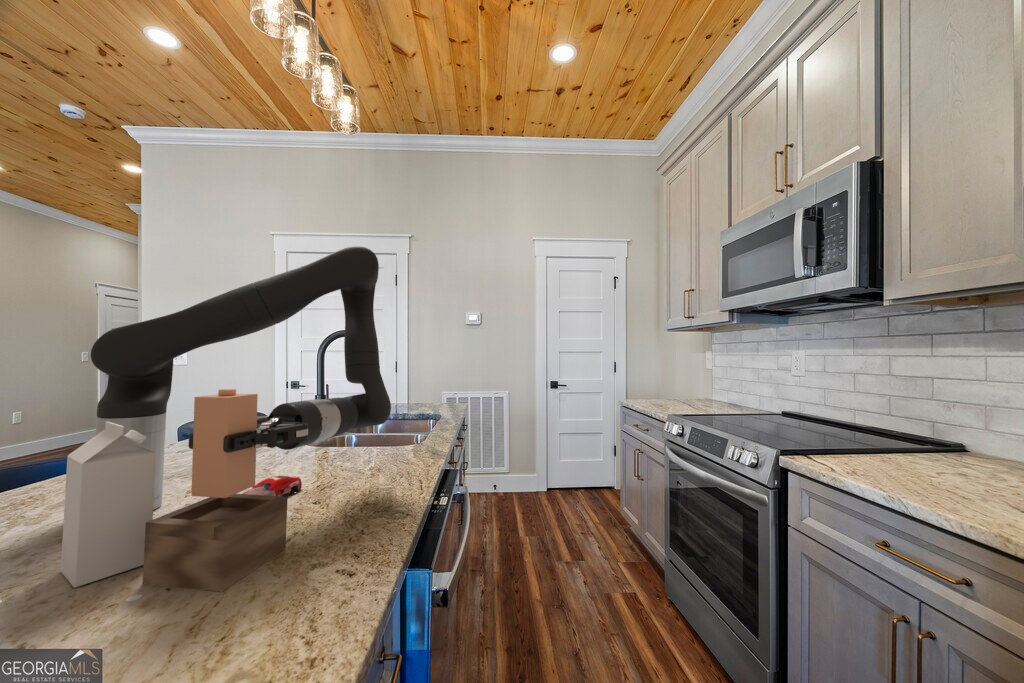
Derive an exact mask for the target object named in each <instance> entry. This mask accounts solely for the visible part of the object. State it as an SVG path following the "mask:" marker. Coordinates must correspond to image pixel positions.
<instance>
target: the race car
mask: <svg viewBox="0 0 1024 683" xmlns="http://www.w3.org/2000/svg"><path fill="white" fill-rule="evenodd" d="M302 486H303V484H302V480H301V478H300V477H299V476H292V475H275V476H274V475H273V476H271V477H268V478H265V479H263V480H261V481H259V482H258V483H257V484H255V486H253V487H251V489H250V488H249V489H247V491H246V490H245V492H243V493H242V494H249V495H265V496H281V497H289V496H291V495H290V494H292V493H294V492H297V493H298V492H299V491H300V490H301V489H302ZM288 495H289V496H288Z"/></svg>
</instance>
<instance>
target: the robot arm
mask: <svg viewBox="0 0 1024 683" xmlns="http://www.w3.org/2000/svg"><path fill="white" fill-rule="evenodd" d="M379 267H380V266H379V259H378V257H377V255H376V254H375V252H374V251H372V250H371V249H369V248H367V247H365V246H361V245H352V246H350V245H349V246H346V247H344V248H340V249H339V250H337V251H334V252H332V253H329V254H328V255H326V256H324V257H322V258H319V259H317V260H315V261H313V262H310V263H308V264H305V265H304V266H300V267H297V268H294V269H291V270H288V271H284V272H281V273H278V274H276V275H273V276H270V277H267V278H265V279H262V280H261V279H260V280H257V281H254V282H251V283H248V284H246V285H243V286H240V287H238V288H237V287H236V288H233V289H231V290H229V291H227V292H224V293H222V294H218V295H216V296H214V297H212V298H211V297H210V298H209V299H208V298H207V299H206V300H203V301H201V302H199V303H196V304H194V305H192V306H189V307H187V308H184V309H182V310H178V311H176V312H174V313H170V314H166V315H162V316H159V317H155V318H151V319H149V320H143V321H140V322H135V323H131V324H127V325H123V326H120V327H119V326H117V327H115V328H113V329H110V330H108V331H106V332H105V333H103V334H102V335H101V336H99V338H97V339H96V341H94V343H93V345H92V347H91V350H90V359H91V363H92V364H93V365H94V367H95V368H96V369H97V370H99V371H100V372H102V373H104V374H106V375H108V377H107V384H106V385H107V387H106V390H105V392H104V394H103V396H102V397H101V398H100V400H99V401H98V403H97V407H96V422H95V424H96V425H95V436H96V435H98V434H99V433H100V432H102V431H103V430H105V422H107V421H108V422H111V423H114V424H118V425H121V426H124V432H123V435H126V434H127V433H128V432H129V431H130V430H134V431H136V432H138V433H140V434H142V435H144V436H145V437H146V439H145V440H144V441H143V442H142V443H141V445H143V446H145V447H147V448H149V449H150V450H152V451H154V452H155V453H156V464H155V484H154V504H153V511H154V510H156V509H158V508H159V507H161V506H162V504H163V490H164V489H163V486H164V467H165V464H164V463H165V451H166V450H165V445H166V430H167V429H166V422H167V421H166V420H167V408H168V402H169V400H170V397H171V392H172V384H173V383H172V382H173V375H174V374H173V371H174V359H175V358H177V357H180V356H182V355H184V354H186V353H188V352H191V351H193V350H196V349H199V348H202V347H205V346H208V345H209V346H210V345H212V344H216V343H221V342H225V341H229V340H233V339H237V338H241V337H245V336H248V335H251V334H254V333H257V332H259V331H262V330H265V329H267V328H270V327H272V326H275V325H278V324H280V323H282V322H285V321H286V320H288V319H290V318H292V317H293V316H294V315H296V314H297V313H299V312H301V311H302V310H303V309H304V308H306V307H307V306H309V305H310V304H311V303H313V302H315V301H317V299H319V298H321V297H324V296H326V295H328V294H331V293H333V292H337V291H339V290H340V294H341V297H342V304H343V308H344V324H345V325H344V326H345V327H344V342H343V343H344V345H343V347H344V368H345V371H344V372H345V378H346V381H348V382H349V383H351V384H357V385H358V384H360V385H362V388H363V389H364V393H360V394H354V395H349V396H344V397H331V398H323V399H321V398H320V399H319V398H317V399H315V398H313V399H306V400H300V401H291V402H287V403H281V404H279V405H277V406H276V407H274V408H273V410H272V411H271V412H270V413H269V415H264V416H257V429H254V433H253V431H245V432H240V433H235V434H230V435H226V436H225V437H224V440H223V451H224V452H234V451H238V450H242V449H246V448H250V447H254V448H256V449H260V448H264V447H266V448H270V449H273V448H278V449H281V450H284V451H289V450H294V449H297V448H301V447H305V446H307V445H311V444H316V443H318V442H322V441H324V440H326V439H328V438H331V437H334V436H338V435H341V434H344V433H347V432H349V431H350V430H353V429H360V428H367V427H374V426H379V425H382V424H384V423H386V422H387V421H388V419H389V417H390V415H391V412H392V403H391V399H390V397H389V393H388V390H387V388H386V385H385V383H384V380H383V376H382V374H381V368H380V367H381V366H380V354H379V352H380V351H379V344H378V343H379V341H378V337H377V330H376V325H375V316H374V315H375V314H374V300H375V293H376V284H377V283H378V279H379V271H380V270H379V269H380V268H379ZM188 448H189V449H191V450H193V431H192V432H191V433H189V435H188Z"/></svg>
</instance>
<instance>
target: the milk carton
mask: <svg viewBox="0 0 1024 683" xmlns="http://www.w3.org/2000/svg"><path fill="white" fill-rule="evenodd" d="M123 432H124V426H121V425H118V424H114V423H111V422H108V421H107V422H105V430H103V431H102V432H100V433H99V434H98V435H96V434H95V436H93V437H91V439H89V440H88V441H86V442H85V443H84V444H82V445H81V446H79V447H78V448H76V449H75V450H73V451H72V452H70V453H69V454H68V455H67V458H66V459H67V460H66V474H65V492H64V508H63V509H64V511H63V525H62V526H63V527H62V542H61V543H62V544H61V557H60V558H61V559H60V572H61V573H62V575H63V576H64V577H65V578H66V580H67V581H68V582H69V583H70V584H71V585H72V587H73V588H78V587H80V586H84V585H87V584H90V583H93V582H96V581H99V580H102V579H105V578H108V577H111V576H114V575H118V574H120V573H123V572H127V571H130V570H132V569H133V570H134V569H136V568H138V567H139V568H140V567H141V566H144V547H145V528H146V522H148V521H150V520H153V519H154V510H153V504H154V484H155V464H156V453H155V452H154V451H152V450H150V449H149V448H147V447H145V446H143V445H141V443H142V442H143V441H144V440H145V439H146V437H145V436H144V435H142V434H140V433H138V432H136V431H134V430H130V431H129V432H128V433H127V434H126V435H123Z"/></svg>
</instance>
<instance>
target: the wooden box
mask: <svg viewBox="0 0 1024 683" xmlns="http://www.w3.org/2000/svg"><path fill="white" fill-rule="evenodd" d="M288 497H289V496H286V497H281V496H265V495H249V494H243V493H236V494H234V495H231V496H229V497H227V498H216V497H205V499H202V500H199V501H196V502H195V503H191V504H189V505H186V506H184V507H182V508H179V509H176V510H174V511H171V512H169V513H165V514H164V515H161V516H158V517H156V518H153V520H150V521H148V522H146V528H145V547H144V565H143V572H142V573H143V574H142V585H150V586H161V587H171V588H178V589H179V588H180V589H181V588H182V589H192V590H201V591H212V592H221V593H222V592H224V591H226V590H227V589H229V588H231V586H232V587H233V585H234V584H236V583H238V582H239V581H240V580H242V579H243V578H245V577H246V576H247V575H249V574H251V573H253V571H255V570H256V569H258V568H259V567H261V566H262V565H264V564H265V563H267V562H268V561H269V560H271V559H273V558H274V557H276V556H277V555H279V554H280V553H281V552H282V551H285V549H286V548H287V546H286V545H287V526H288V525H287V521H288V520H287V519H288Z"/></svg>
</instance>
